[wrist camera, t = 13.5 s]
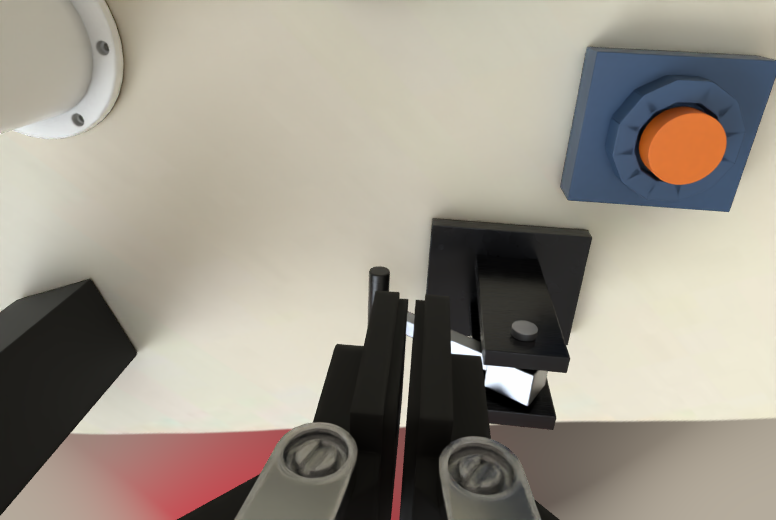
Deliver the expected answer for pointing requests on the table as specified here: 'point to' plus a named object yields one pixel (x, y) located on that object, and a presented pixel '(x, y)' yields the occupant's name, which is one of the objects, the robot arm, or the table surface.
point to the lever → (473, 353)
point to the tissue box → (52, 374)
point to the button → (682, 145)
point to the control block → (643, 103)
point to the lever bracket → (511, 300)
